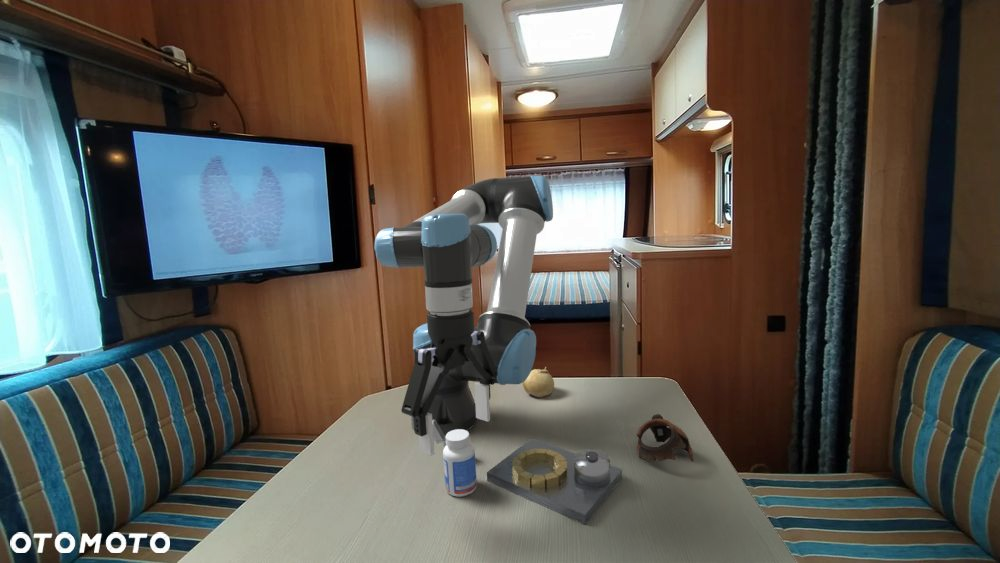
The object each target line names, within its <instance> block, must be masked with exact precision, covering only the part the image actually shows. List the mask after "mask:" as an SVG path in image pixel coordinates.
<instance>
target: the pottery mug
mask: <svg viewBox="0 0 1000 563" xmlns="http://www.w3.org/2000/svg"><path fill="white" fill-rule="evenodd" d="M649 429H650V431H651V432H652V434H653V435H654V439H655V441H656V443H663V444H660V445H657V446H649V445H646V444H645V443H644V442H643V440H642V438H643V435H644V433H645V432H647V430H649ZM636 437H637V444H636V445H637V446H636V451H637V453H638V454H637V455H638V458H642V459H645V460H648V461H652V462H656V461H659V462H660V461H665V460H666V459H668V460H673V461H676V457H675V453H674V452H675V451H674V449H676V450H682V451H685V452H687V453H688V456H689V457H690V458H689V459H690V462H694V454H693V449H692V447H691V444H690V441H689V438H688V436H687V435H686V433H685V432H684V431H683V430H682V429H681V428H680V427H679V426H677V425H675V424H674V423H672V422H670V421H669V420H667V419H664V416H662V414H659V413H656V414H653V416H651V419H650V420H647V421H646V422H644V423H643V424H641V426H640V427H639V429H638V430H637V433H636Z"/></svg>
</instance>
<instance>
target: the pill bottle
mask: <svg viewBox="0 0 1000 563" xmlns="http://www.w3.org/2000/svg"><path fill="white" fill-rule="evenodd" d="M445 437H446V446H445V448H444V447H443V450H442V460H443V461H442V463H443V472H444V483H445V484H444V485H445V490H446V492H447V493H448V494H449V495H451V496H453V497H465V496H468V495H470V494H472V493H473V492H474V491H475V490H476V489H477V484H478V481H477V480H478V479H477V466H476V452H475V447H474V445H473V444H472V443H471V439H470V433H469V431H468V430H463V429H457V430H452V431H450V432H448V433H447V434H446V436H445Z"/></svg>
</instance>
